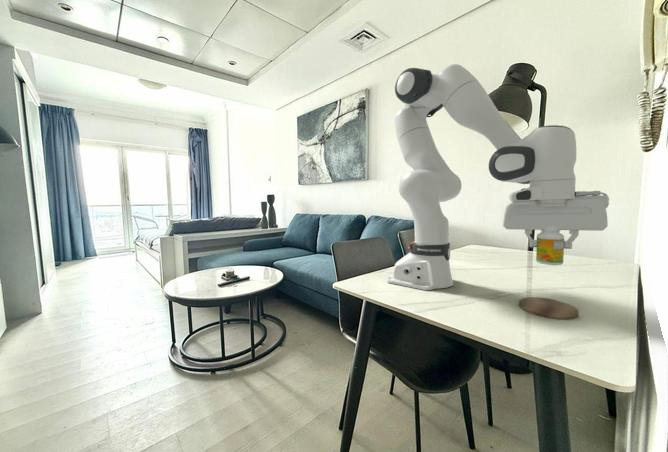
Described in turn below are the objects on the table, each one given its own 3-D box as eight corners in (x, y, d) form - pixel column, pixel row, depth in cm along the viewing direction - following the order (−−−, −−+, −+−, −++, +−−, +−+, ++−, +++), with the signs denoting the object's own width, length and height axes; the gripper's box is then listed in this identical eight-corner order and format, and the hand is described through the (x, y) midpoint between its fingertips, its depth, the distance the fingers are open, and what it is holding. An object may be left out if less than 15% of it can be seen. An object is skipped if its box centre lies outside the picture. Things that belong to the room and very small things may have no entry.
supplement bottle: (530, 261, 71) (531, 224, 70) (550, 260, 72) (551, 223, 71) (548, 266, 66) (549, 226, 65) (569, 264, 66) (570, 225, 65)
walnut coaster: (520, 313, 68) (520, 309, 68) (517, 298, 78) (518, 294, 78) (584, 323, 62) (584, 319, 62) (572, 305, 72) (572, 301, 72)
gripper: (604, 190, 65) (602, 247, 66) (503, 194, 75) (502, 243, 76) (614, 189, 59) (611, 252, 60) (503, 194, 70) (503, 247, 71)
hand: (549, 247), depth 69 cm, fingers closed on supplement bottle, 5 cm apart
